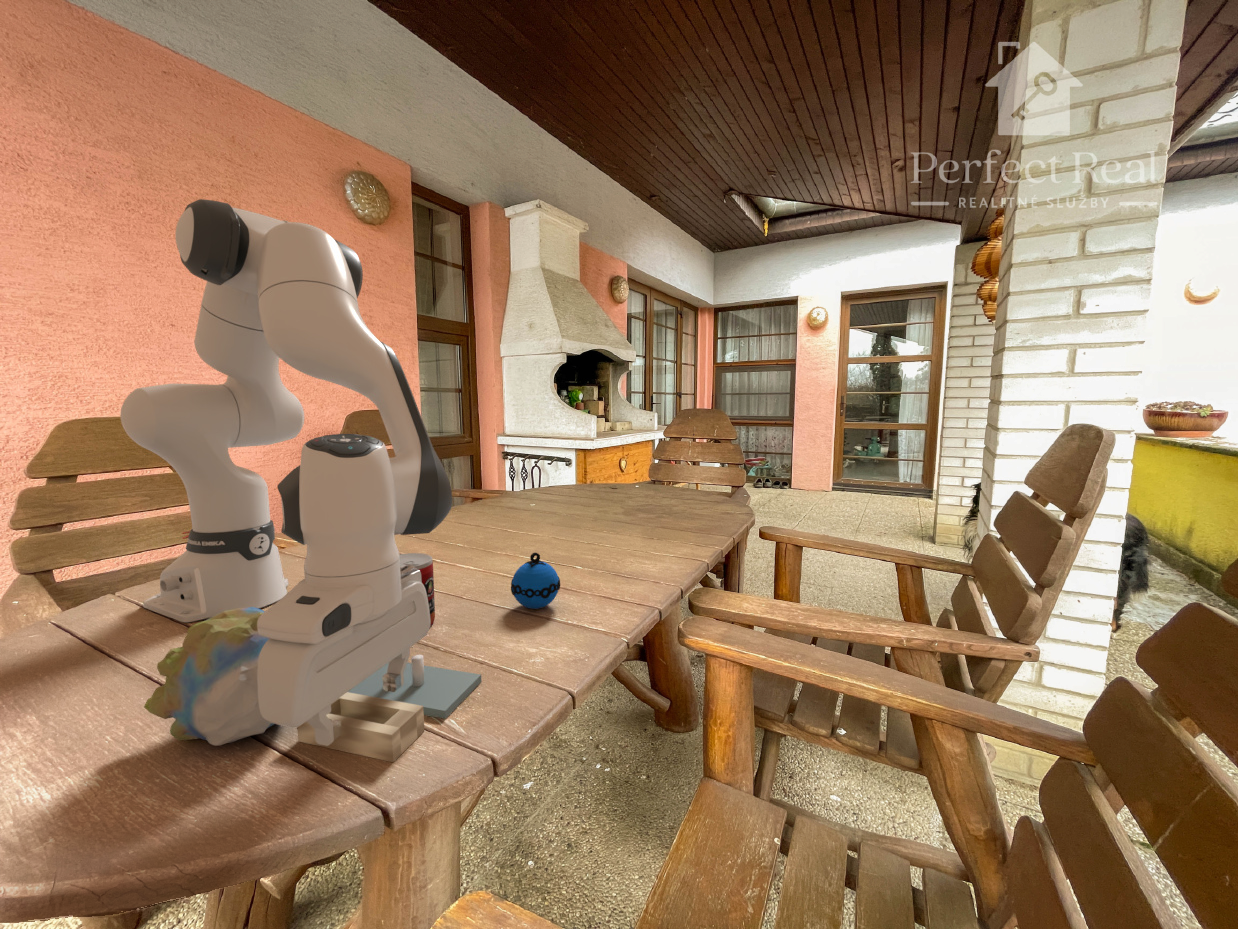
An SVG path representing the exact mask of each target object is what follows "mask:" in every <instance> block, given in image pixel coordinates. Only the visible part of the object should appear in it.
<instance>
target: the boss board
mask: <svg viewBox="0 0 1238 929" xmlns="http://www.w3.org/2000/svg"><path fill="white" fill-rule="evenodd" d="M410 659H411V660H410V661H411V662H407V664H406V668H405V671H404V685H403V686H401V687H400V688H399V689H397V690H396V691H395V692H391V691H385V690H384V689H383V680H382V676H384V675H385V674H386V673H387V670H388V665H389V662H388V663H387V664H386V665H384V666H383V667H382V668H380V669H379V670H377V671H376V672H375V673H373V674H372V675H370V676H369V677H368V678H366V679H365V680H363V681H362V682H361V683H359V684H358V685H356V686H355V687H354V688H352V689H351V690H349V691H348V692H349V693H355V694H360V695H366V696H371V697H377V698H382V699H388V700H393V701H399V702H404V703H410V704H415V705H420V706H423V712H424V716H429V717H433V718H438V719H443V720H446V719H447V718H448V717H449V716H450V715H451V714H452V713H453V712H454V711H455V710H456V709H457V708H458V707H459V706H460V705H461V703H462V702H463V701H464V700H466V699H467V697H469V695H470V694H471V693H472V692H473V691H474V690H475V689H476V688H477V687H478V686H479V685H480V683H483V682H482V674H481V673H473V672H469V671H462V670H455V669H449V668H442V667H437V666H429V665H425V664H424V662H425V661H424V655H423V654H415V655H413V656H412V657H411V658H410Z"/></svg>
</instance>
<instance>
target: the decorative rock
mask: <svg viewBox="0 0 1238 929" xmlns="http://www.w3.org/2000/svg"><path fill="white" fill-rule="evenodd" d="M265 611H266V610H263V609H261V608H255V607H247V608H238V609H232V610H227V611H224V612H222V613H219V614H217V615H215V616H213V617H210V618H206V620H205V619H204V621H199V622H197V623H194V624H192V625H191V626H190V627H188V629H187V631H186V635H185V638H184V639H183V641H182V646H179V647H174V648H170V649H169V651H168V652H167V653H166V655H165V656H164V658H163V659H162V660H160V661H159V662H158V663H157V666H156V668H157V670H158V673H159V675H160V676H162V677H165V683H164V684H162V685H160V686H158V687H156V688H155V690H154V692H153V693H152V695H151V697H150V698H148V699H146V702H145V704H144V706H143V708H145V709H146V711H147V712H148V713H149V714H151V715H154V716H155V717H159V718H161V719H164V720H168V719H172V718H173V719H175V720H174V721H173V722H172V724H171V725H170V729H169V733H170V735H171V737H173V738H175V739H177V740H179V741H181V740H186V741H189V740H199V739H202V740H204V741H207V742H208V743H209V744H210V745H212V746H215V747H217V746H222V745H225V744H227V743H233V742H236V741H238V740H241V739H245V738H248V737H251V736H255V735H261V734H263V733H264V734H265V732H266V730H267V729H269V728H270V727H272V726H273V725H275V724H273V723H270V722H268V721H267V720H265V719H264V718H263V717H262V716H261V713H260V708H259V700H258V683H257V668H258V659H259V655H260V652H261V649H262V648H263V646H264V644H265V643H266V642H267V641H268V640H269V639H270V638H266V637H262V636H260V635H259V633H258V630H257V621H258V618H259V617H260V616H261V615H262V614H263V613H264V612H265Z"/></svg>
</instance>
